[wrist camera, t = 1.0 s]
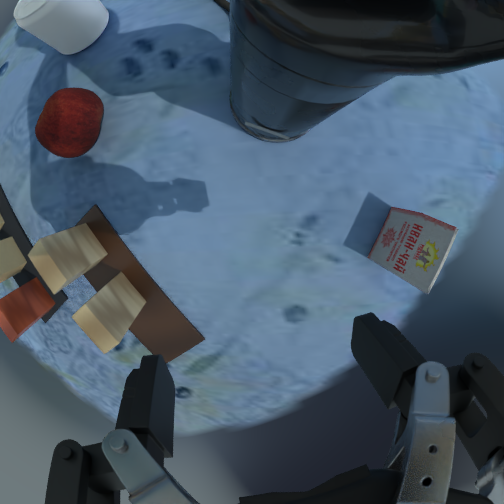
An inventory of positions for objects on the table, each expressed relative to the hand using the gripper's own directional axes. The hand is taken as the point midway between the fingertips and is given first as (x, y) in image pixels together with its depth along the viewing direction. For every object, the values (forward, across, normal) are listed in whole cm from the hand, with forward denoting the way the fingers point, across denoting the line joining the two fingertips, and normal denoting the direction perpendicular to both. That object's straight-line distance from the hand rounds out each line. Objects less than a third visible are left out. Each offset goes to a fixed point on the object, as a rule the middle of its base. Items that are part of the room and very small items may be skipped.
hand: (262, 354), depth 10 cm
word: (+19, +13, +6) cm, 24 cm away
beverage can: (+24, +15, -29) cm, 41 cm away
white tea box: (+18, -19, +4) cm, 26 cm away
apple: (+22, +14, -14) cm, 30 cm away
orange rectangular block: (+20, +27, +5) cm, 34 cm away
